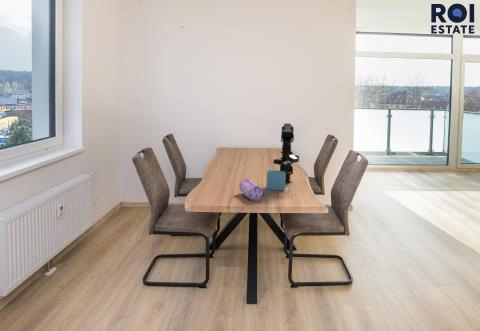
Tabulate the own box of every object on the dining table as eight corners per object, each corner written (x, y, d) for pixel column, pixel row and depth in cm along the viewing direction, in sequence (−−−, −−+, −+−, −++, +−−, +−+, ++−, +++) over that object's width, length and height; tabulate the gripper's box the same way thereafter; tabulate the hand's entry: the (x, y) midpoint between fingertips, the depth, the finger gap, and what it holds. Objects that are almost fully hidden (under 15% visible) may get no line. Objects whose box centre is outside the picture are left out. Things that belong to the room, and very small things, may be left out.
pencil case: (264, 201, 257) (265, 185, 256) (249, 202, 254) (250, 186, 253) (251, 192, 278) (251, 178, 276) (237, 193, 275) (237, 178, 273)
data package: (284, 189, 289) (285, 171, 287) (284, 190, 284) (285, 172, 282) (266, 188, 290) (267, 170, 288) (266, 189, 285) (267, 171, 283)
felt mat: (263, 187, 291) (263, 187, 291) (281, 192, 279) (281, 192, 279) (250, 190, 283) (250, 190, 283) (267, 195, 271) (267, 194, 271)
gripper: (285, 152, 276) (284, 177, 279) (305, 150, 288) (304, 173, 291) (273, 150, 285) (272, 174, 287) (292, 148, 297) (291, 171, 300)
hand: (285, 173), depth 291 cm, fingers closed
